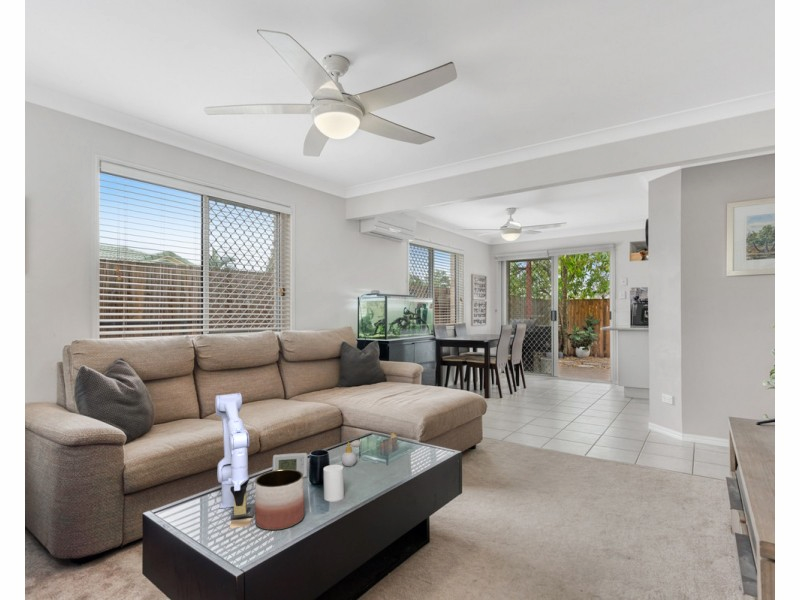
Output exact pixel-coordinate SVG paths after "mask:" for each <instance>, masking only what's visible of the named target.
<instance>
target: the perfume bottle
mask: <svg viewBox="0 0 800 600" xmlns="http://www.w3.org/2000/svg"><path fill="white" fill-rule="evenodd" d="M346 445H347V446H346V447H345V452H343V454H342V455H341V463H342V466H343V465H344V466H346V467H353V466H354V465H355V463H356V462H357V455H356V453H355V452H354V451H353V450H352V447H353V448H359V447H361V445H362V441H361V440H360V439H355V440H353V441H352V442H351V443H350V441H348V442H347V444H346Z"/></svg>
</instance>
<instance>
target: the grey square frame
mask: <svg viewBox="0 0 800 600" xmlns="http://www.w3.org/2000/svg"><path fill="white" fill-rule="evenodd" d="M230 514H231V515H230V522H231V521H232V520H239V519H247V518H251V519H254V518H255V502H254V503H247V511H246V514H239V515H234V507H232V511H231V513H230Z"/></svg>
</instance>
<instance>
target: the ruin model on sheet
mask: <svg viewBox="0 0 800 600" xmlns="http://www.w3.org/2000/svg"><path fill="white" fill-rule="evenodd" d="M389 434H390V437H388V438H385V439H383V440H382V441H379V452H380V453H379V454H380V456H383V457H385V456H387V455H389V454H391V453H394V452H396V451H398V449H399V448H398V446H399V445H398V436H397V434H395V433H394V432H392V433H389Z"/></svg>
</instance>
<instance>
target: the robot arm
mask: <svg viewBox="0 0 800 600" xmlns="http://www.w3.org/2000/svg"><path fill="white" fill-rule="evenodd" d="M242 396H243V395H242V394H241V392H236V393H228V394H220V395H218V394H216V396H215V398H214V399H215V400H214V405H215V415H216V416H218V417H220V419H221V422H222V440H223V454H224V455H223V456H224V457H223V458H222V459H221V460H219V462H218V464H217V468H216V469H217V470H216V471H217V472H216V474H217V475H216V476H217V481H218V483H220V484H221V502H220V504H219V509H225V508H226V509H227V508H234V499H235V503H236V506H242V505H243V500H244V493H245V490H247V487H248V483H249V481H250V478H249V469H248V468H249V465H248V464H249V461H248V458H249V456H248V455H249V454H248V448H249V447H250V436H249V432H248V430H247V429H245V425H244V421H243V419H242V418H240V417H239V413H240V411H241V408H242V406H243V397H242Z"/></svg>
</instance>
